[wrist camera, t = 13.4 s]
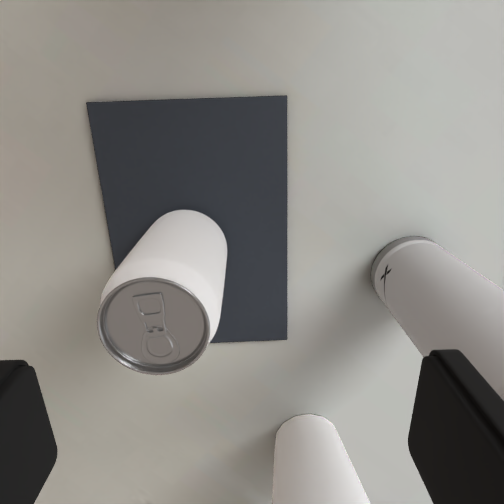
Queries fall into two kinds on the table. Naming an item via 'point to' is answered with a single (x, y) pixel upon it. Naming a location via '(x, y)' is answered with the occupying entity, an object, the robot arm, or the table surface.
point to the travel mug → (443, 304)
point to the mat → (205, 191)
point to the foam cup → (313, 465)
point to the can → (165, 295)
